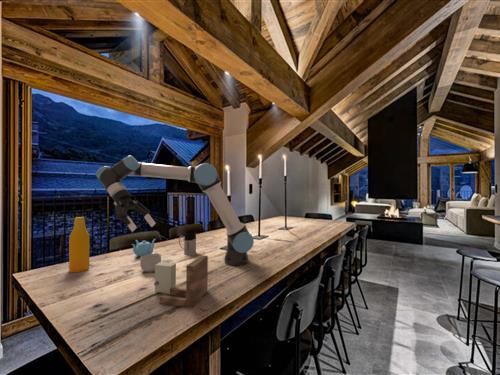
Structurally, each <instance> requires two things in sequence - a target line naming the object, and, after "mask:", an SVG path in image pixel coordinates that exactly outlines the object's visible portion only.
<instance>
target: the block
mask: <svg viewBox="0 0 500 375" xmlns="http://www.w3.org/2000/svg"><path fill="white" fill-rule="evenodd" d="M176 275H177V263H173V262H163V261H161V262H159V263H158V264H156V265H155V271H154V283H153V285H154V292H156V293H164V294H169V295H170V288H177V287H176V286H177V276H176Z"/></svg>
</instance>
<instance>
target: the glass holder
mask: <svg viewBox="0 0 500 375" xmlns="http://www.w3.org/2000/svg"><path fill="white" fill-rule="evenodd" d="M182 237H183V238H182ZM181 238H182V239H183V241H184V242H183V243H184V246H183V247H182V245H181V241H180V240H181ZM178 243H179V244H178V245H179V247H180V248H181V249H183V256H194V255H197V231H195V230H187V231H184V235H180V236H179V238H178Z"/></svg>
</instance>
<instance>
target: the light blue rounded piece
mask: <svg viewBox="0 0 500 375" xmlns="http://www.w3.org/2000/svg"><path fill="white" fill-rule="evenodd" d="M155 241H156V238H153V240H152V241H151V242H149V241H147V240H141V242H139V240H137V239H135V243H136V244H134V243H131V245H132V251H133V253H134V255H135V256H136V257H137V258H140V257H142V256H144V255H148V254H153V252H154V248H155Z"/></svg>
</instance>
